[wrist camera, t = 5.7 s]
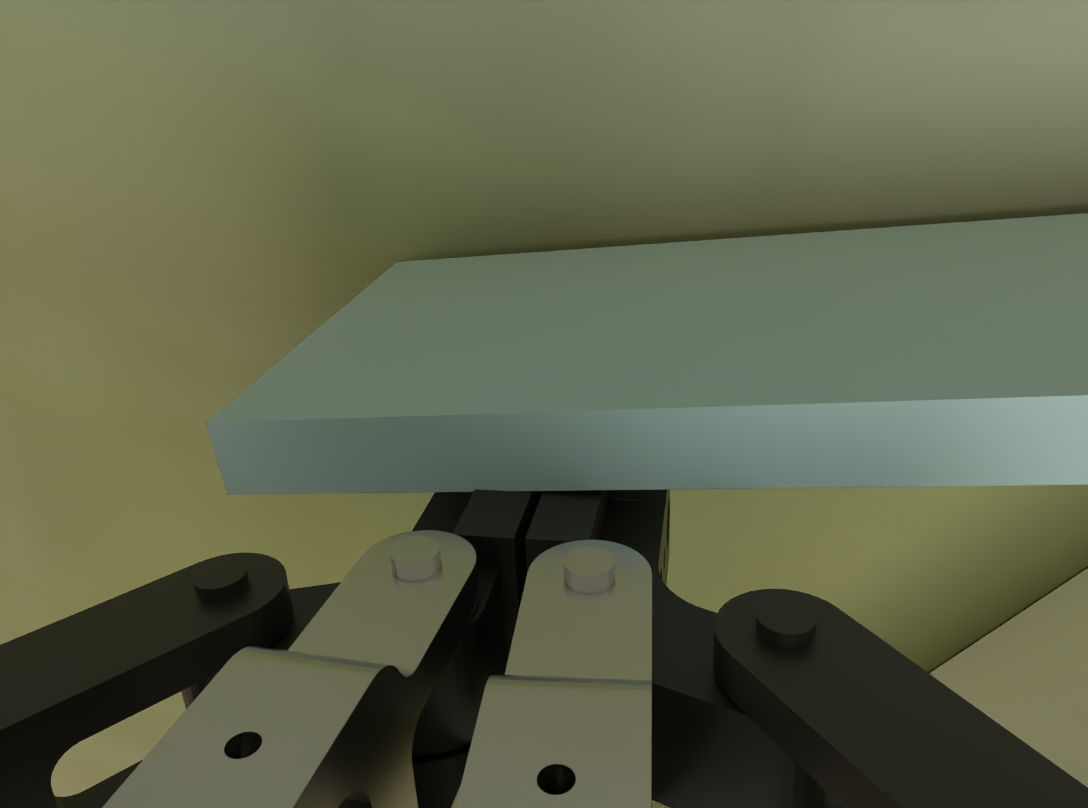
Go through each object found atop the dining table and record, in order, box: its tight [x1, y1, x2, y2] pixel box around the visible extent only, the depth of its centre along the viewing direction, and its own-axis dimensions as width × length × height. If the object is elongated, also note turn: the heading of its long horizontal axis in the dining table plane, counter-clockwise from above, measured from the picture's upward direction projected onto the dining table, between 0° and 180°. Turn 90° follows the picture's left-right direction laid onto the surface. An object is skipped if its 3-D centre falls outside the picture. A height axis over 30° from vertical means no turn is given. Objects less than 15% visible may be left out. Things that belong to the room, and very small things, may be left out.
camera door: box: [206, 213, 1088, 494], centre depth 12 cm, size 19×1×7 cm, turn 97°
